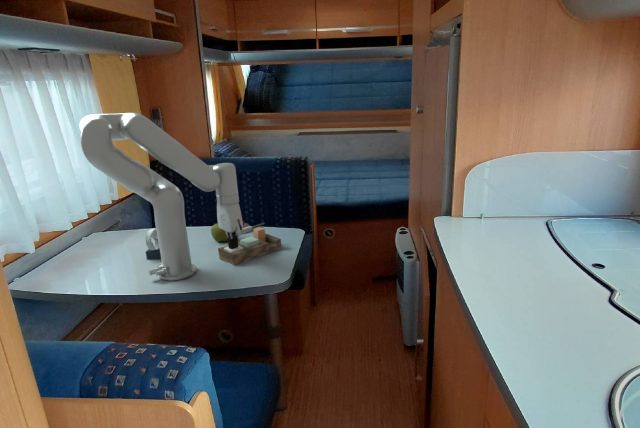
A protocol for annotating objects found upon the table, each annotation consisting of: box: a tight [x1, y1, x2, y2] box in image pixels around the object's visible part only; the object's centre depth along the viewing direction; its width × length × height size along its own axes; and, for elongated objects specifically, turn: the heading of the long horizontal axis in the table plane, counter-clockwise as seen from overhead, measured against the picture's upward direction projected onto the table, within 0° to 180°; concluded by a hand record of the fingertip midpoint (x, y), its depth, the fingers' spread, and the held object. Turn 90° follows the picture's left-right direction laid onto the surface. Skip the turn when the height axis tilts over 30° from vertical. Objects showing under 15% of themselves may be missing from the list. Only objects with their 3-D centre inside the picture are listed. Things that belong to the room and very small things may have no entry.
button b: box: [239, 236, 259, 247], centre depth 174 cm, size 5×5×3 cm
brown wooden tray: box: [217, 232, 283, 266], centre depth 174 cm, size 21×10×4 cm, turn 131°
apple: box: [210, 222, 228, 242], centre depth 189 cm, size 8×8×7 cm
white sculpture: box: [145, 228, 161, 260], centre depth 176 cm, size 6×8×11 cm
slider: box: [252, 226, 266, 242], centre depth 180 cm, size 3×3×5 cm
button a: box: [224, 245, 243, 253], centre depth 170 cm, size 5×5×3 cm
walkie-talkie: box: [240, 220, 266, 235], centre depth 201 cm, size 9×4×20 cm
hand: (233, 247), depth 169 cm, fingers closed
